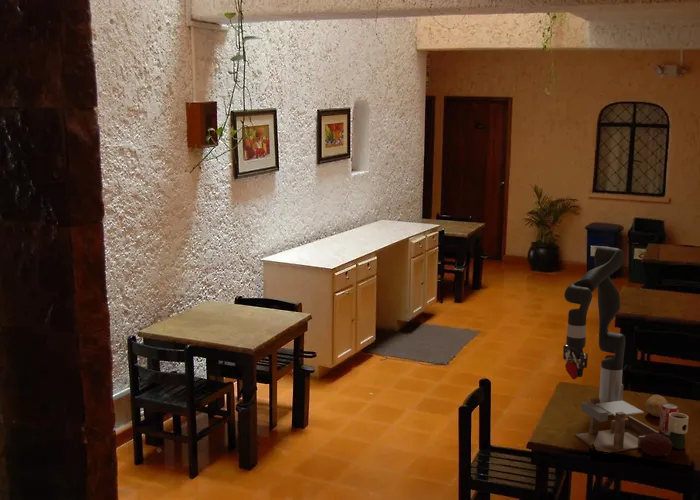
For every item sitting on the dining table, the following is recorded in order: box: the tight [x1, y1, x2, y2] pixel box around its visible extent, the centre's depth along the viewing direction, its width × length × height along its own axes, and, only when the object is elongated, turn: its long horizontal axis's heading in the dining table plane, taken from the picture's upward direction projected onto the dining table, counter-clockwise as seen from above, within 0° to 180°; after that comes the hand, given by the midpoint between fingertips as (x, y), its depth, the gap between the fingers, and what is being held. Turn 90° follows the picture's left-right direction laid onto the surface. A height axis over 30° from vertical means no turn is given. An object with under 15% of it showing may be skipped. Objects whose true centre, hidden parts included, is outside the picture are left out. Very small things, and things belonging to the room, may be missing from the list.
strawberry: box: [565, 359, 585, 380], centre depth 308 cm, size 6×8×10 cm
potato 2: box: [640, 433, 674, 457], centre depth 289 cm, size 12×11×8 cm
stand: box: [574, 397, 660, 454], centre depth 302 cm, size 26×18×15 cm
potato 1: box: [644, 394, 669, 418], centre depth 329 cm, size 10×14×8 cm
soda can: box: [658, 402, 680, 437], centre depth 309 cm, size 7×7×12 cm
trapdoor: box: [581, 400, 645, 423], centre depth 300 cm, size 20×13×4 cm, turn 107°
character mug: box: [668, 412, 690, 450], centre depth 296 cm, size 11×7×13 cm, turn 142°
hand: (574, 373), depth 309 cm, fingers closed on strawberry, 7 cm apart
